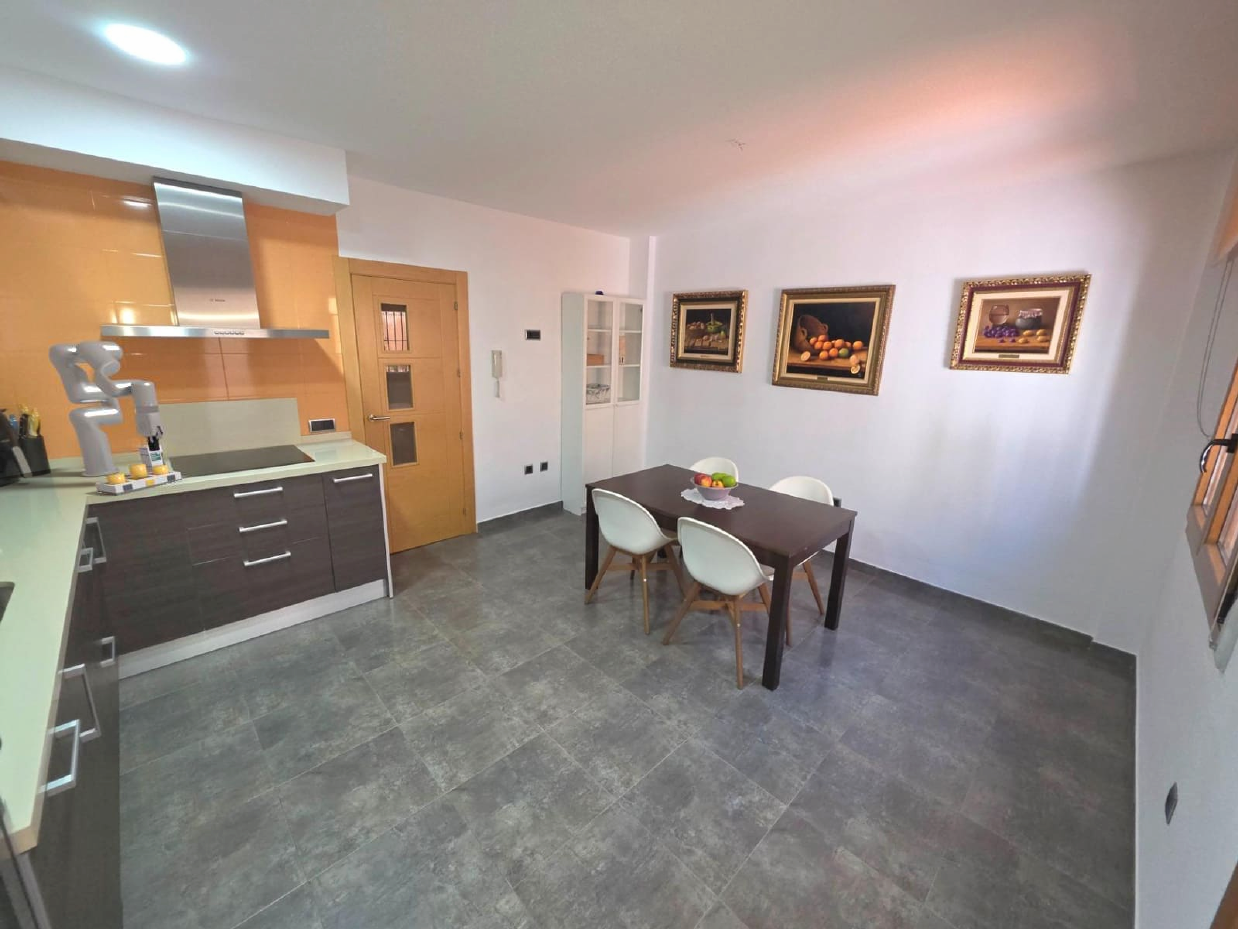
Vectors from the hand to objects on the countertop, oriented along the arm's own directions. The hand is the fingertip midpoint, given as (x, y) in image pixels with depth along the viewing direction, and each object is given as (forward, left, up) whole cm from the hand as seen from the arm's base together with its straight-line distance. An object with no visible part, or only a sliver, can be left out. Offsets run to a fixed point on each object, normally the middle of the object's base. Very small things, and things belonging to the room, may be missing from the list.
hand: (154, 450), depth 219 cm
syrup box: (-13, +6, -15) cm, 21 cm away
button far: (+1, 0, -13) cm, 13 cm away
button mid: (+1, -8, -11) cm, 13 cm away
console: (+1, -8, -14) cm, 16 cm away
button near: (+1, -16, -13) cm, 21 cm away
